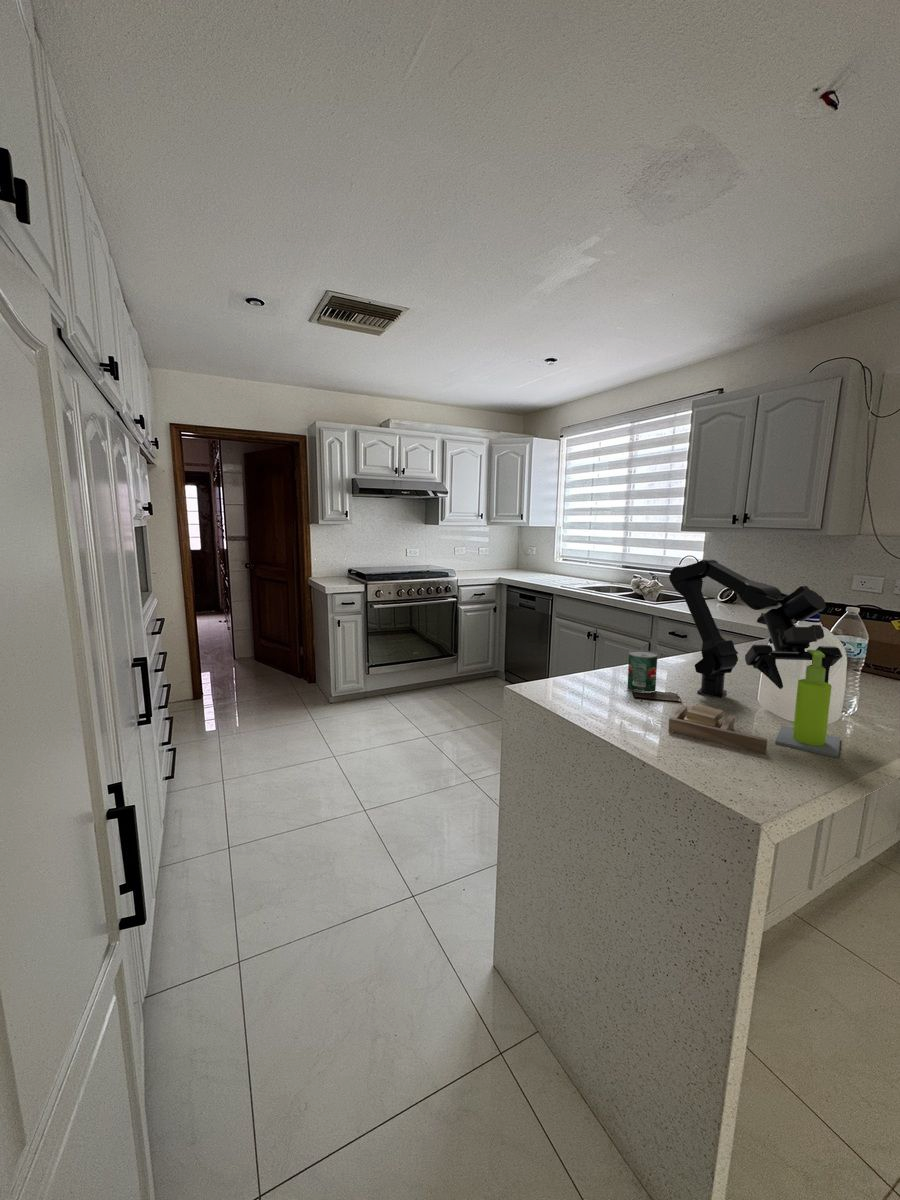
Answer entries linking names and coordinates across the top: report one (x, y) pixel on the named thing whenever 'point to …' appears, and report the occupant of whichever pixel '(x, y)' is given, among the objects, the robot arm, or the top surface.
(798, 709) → the soap dispenser
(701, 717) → the offcut stack
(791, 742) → the slate mat
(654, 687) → the canned tomato
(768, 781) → the top surface
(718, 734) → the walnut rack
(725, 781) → the top surface
